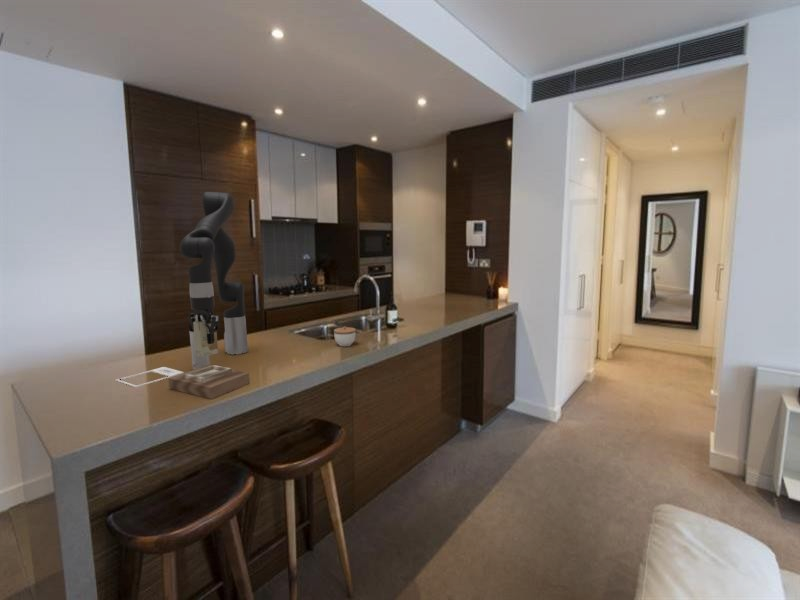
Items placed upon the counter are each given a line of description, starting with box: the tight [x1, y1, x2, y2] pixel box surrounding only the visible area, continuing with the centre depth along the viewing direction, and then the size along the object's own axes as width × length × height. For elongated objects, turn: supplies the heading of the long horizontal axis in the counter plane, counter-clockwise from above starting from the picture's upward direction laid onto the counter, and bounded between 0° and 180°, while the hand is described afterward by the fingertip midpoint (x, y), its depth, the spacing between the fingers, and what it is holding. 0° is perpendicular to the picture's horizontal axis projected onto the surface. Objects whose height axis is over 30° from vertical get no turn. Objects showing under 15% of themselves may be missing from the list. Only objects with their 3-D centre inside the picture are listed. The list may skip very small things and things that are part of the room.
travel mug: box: [188, 323, 211, 370], centre depth 162 cm, size 6×7×20 cm
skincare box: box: [193, 321, 219, 357], centre depth 143 cm, size 6×4×12 cm
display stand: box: [167, 364, 250, 400], centre depth 145 cm, size 22×16×6 cm
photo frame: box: [115, 366, 185, 389], centre depth 156 cm, size 15×1×18 cm
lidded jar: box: [333, 325, 357, 347], centre depth 199 cm, size 11×11×9 cm
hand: (206, 342), depth 143 cm, fingers closed on skincare box, 4 cm apart
